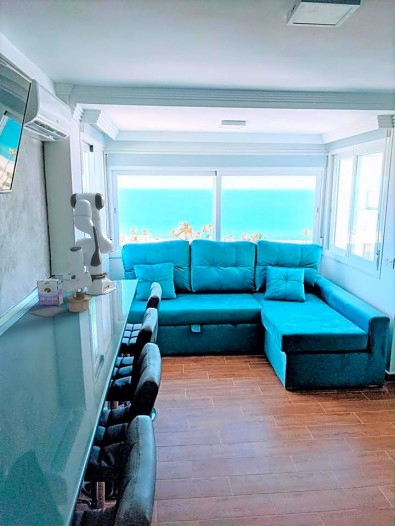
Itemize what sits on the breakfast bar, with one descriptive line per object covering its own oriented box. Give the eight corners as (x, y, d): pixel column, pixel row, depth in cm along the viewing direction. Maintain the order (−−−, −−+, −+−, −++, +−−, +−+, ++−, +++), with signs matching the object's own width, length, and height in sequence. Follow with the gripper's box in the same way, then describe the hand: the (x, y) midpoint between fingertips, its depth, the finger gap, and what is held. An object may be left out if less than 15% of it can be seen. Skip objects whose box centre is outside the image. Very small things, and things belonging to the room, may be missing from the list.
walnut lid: (79, 295, 235) (78, 288, 234) (95, 298, 228) (95, 291, 227) (61, 300, 223) (61, 293, 222) (78, 304, 216) (77, 296, 215)
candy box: (63, 303, 238) (61, 278, 235) (59, 305, 232) (57, 280, 229) (43, 302, 239) (41, 277, 236) (38, 305, 234) (36, 280, 230)
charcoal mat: (51, 306, 231) (51, 305, 230) (68, 310, 223) (68, 309, 223) (30, 313, 218) (30, 312, 218) (47, 317, 211) (47, 316, 210)
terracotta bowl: (79, 305, 234) (79, 296, 233) (92, 308, 228) (91, 298, 227) (65, 310, 224) (65, 300, 223) (78, 313, 219) (78, 303, 218)
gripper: (86, 270, 232) (87, 291, 235) (60, 276, 215) (61, 299, 218) (93, 271, 229) (94, 292, 232) (67, 278, 212) (69, 301, 215)
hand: (78, 296), depth 225 cm, fingers closed on walnut lid, 3 cm apart
